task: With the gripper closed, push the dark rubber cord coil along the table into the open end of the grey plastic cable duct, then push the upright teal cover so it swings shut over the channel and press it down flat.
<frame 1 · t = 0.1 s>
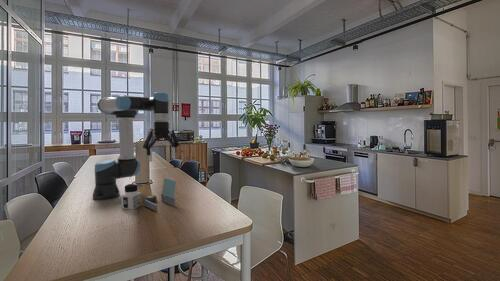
hand: (162, 159, 134), 28 cm above the table, fingers open, 13 cm apart
container: (131, 207, 140), on the table
lid: (169, 188, 146), point 9 cm above the table, hinge at 100.0°
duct: (167, 203, 146), on the table
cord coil: (150, 201, 149), on the table
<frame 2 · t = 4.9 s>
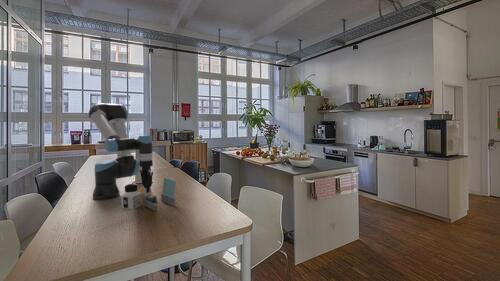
hand: (147, 197, 152), 2 cm above the table, fingers closed
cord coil: (150, 201, 149), on the table, touching gripper
everything else where it was.
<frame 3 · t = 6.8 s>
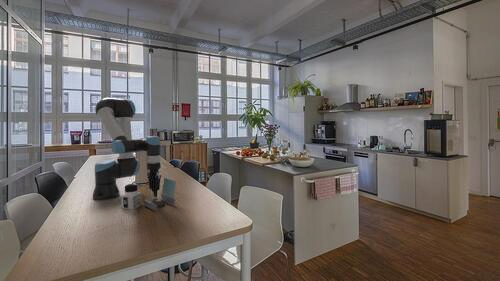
hand: (154, 201, 145), 1 cm above the table, fingers closed
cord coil: (158, 205, 142), on the table, touching gripper
everything else where it was.
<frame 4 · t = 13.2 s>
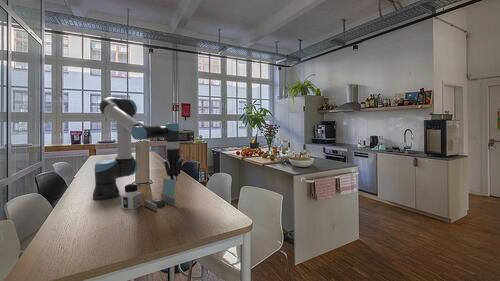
hand: (174, 186, 148), 9 cm above the table, fingers closed
lid: (169, 188, 146), point 9 cm above the table, hinge at 98.6°, touching gripper
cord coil: (158, 205, 142), on the table
everything else where it was.
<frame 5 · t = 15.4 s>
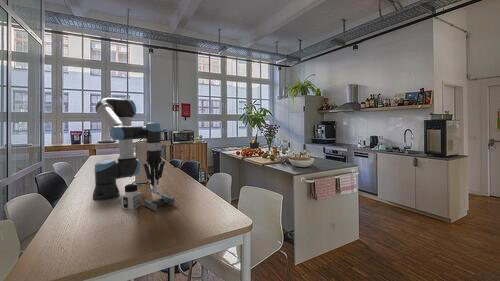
hand: (154, 190, 139), 9 cm above the table, fingers closed
lid: (160, 194, 142), point 7 cm above the table, hinge at 28.6°
everything else where it was.
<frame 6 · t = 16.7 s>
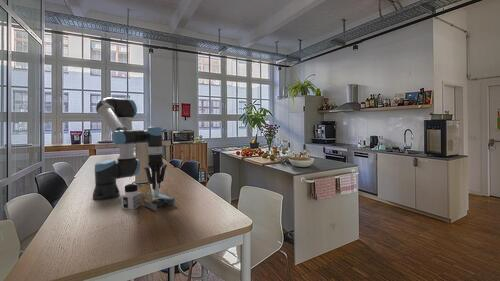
hand: (156, 194, 140), 7 cm above the table, fingers closed
lid: (160, 195, 142), point 6 cm above the table, hinge at 17.5°, touching gripper
everything else where it was.
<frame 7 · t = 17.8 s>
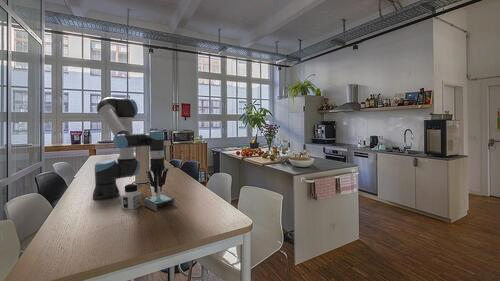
hand: (158, 197, 141), 5 cm above the table, fingers closed
lid: (159, 198, 141), point 4 cm above the table, hinge at -0.1°
everything else where it was.
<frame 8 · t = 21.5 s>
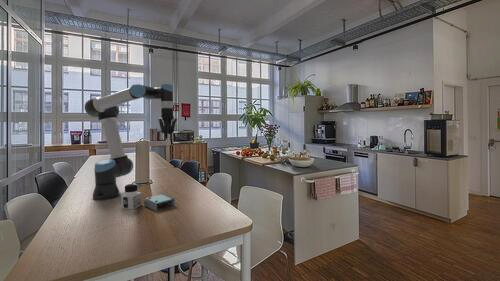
hand: (168, 143, 161), 34 cm above the table, fingers closed
nothing on the table moved.
at the end: lid at +0° (first picture: +100°); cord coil inside the target area (2.1 cm from its centre), on the table; container moved 0.2 cm from its start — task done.
